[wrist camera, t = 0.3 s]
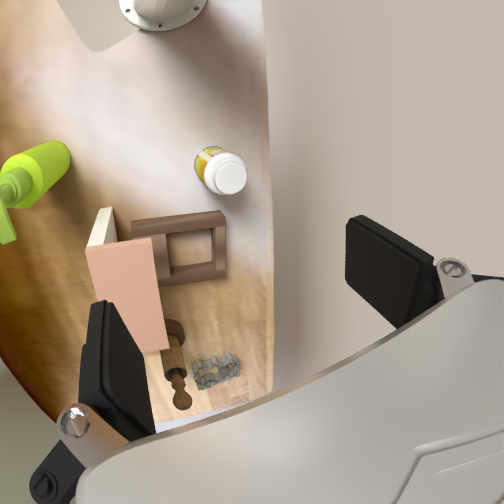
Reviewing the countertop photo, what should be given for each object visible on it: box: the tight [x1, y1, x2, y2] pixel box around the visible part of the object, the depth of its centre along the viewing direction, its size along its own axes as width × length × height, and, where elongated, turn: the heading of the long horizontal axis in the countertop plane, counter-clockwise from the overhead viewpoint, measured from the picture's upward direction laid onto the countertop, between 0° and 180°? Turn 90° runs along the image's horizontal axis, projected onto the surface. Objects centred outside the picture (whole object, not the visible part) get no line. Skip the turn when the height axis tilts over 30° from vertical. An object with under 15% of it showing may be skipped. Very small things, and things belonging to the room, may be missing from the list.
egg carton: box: [192, 352, 240, 390], centre depth 61 cm, size 11×8×4 cm
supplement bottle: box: [194, 146, 247, 195], centre depth 38 cm, size 6×6×10 cm
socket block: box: [131, 211, 225, 287], centre depth 45 cm, size 11×14×3 cm
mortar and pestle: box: [160, 320, 192, 410], centre depth 46 cm, size 7×6×18 cm
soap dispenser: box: [0, 140, 70, 245], centre depth 25 cm, size 6×7×20 cm
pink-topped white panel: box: [85, 207, 170, 353], centre depth 38 cm, size 16×8×14 cm, turn 178°
